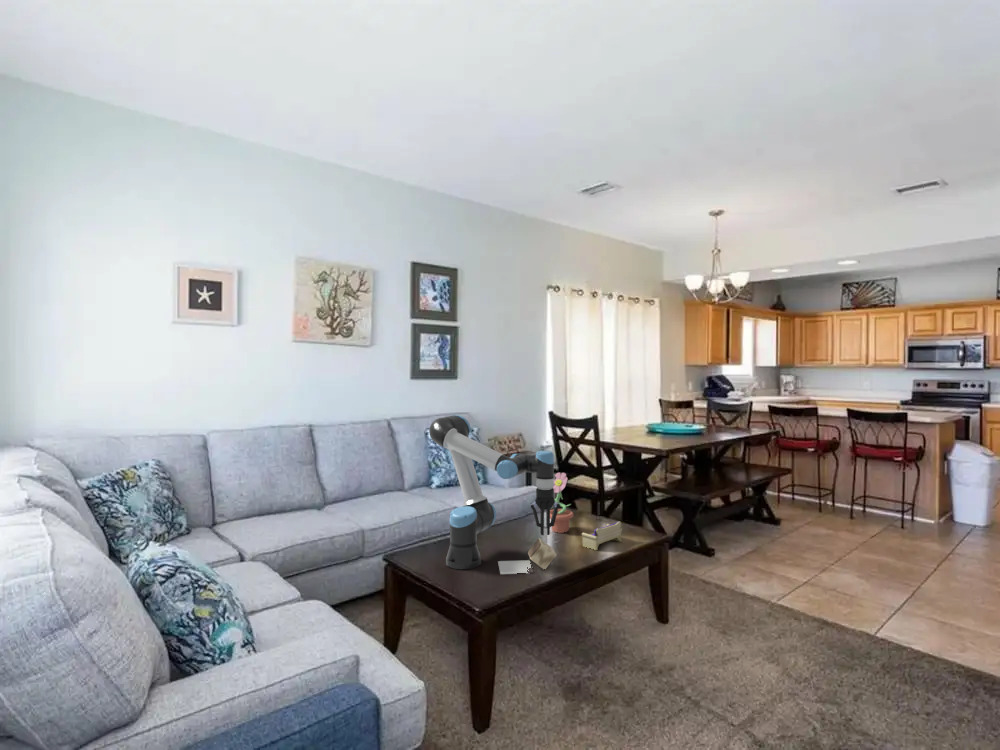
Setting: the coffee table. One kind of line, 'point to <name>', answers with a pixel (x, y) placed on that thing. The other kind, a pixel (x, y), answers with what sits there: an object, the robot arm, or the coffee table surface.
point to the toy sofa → (602, 535)
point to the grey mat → (514, 566)
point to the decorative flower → (562, 514)
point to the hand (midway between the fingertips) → (545, 542)
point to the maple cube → (541, 553)
